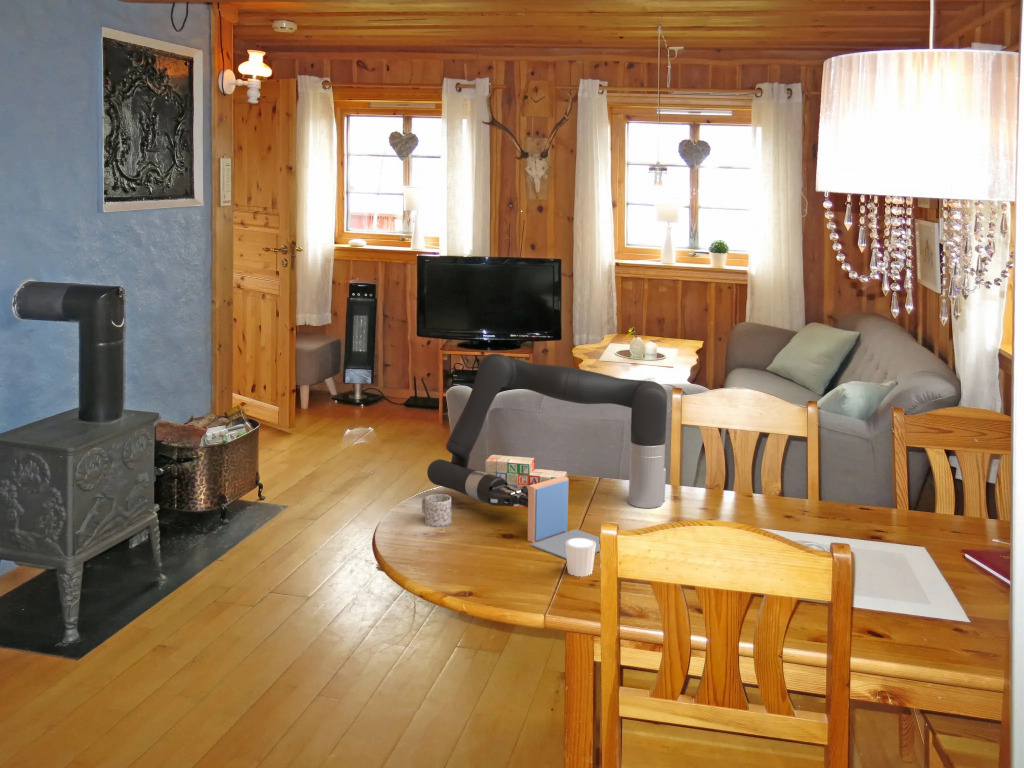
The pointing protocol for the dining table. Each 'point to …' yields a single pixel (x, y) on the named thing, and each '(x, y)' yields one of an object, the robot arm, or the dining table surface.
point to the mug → (437, 510)
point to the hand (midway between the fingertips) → (532, 503)
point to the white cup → (580, 556)
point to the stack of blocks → (519, 471)
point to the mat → (563, 542)
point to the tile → (547, 508)
